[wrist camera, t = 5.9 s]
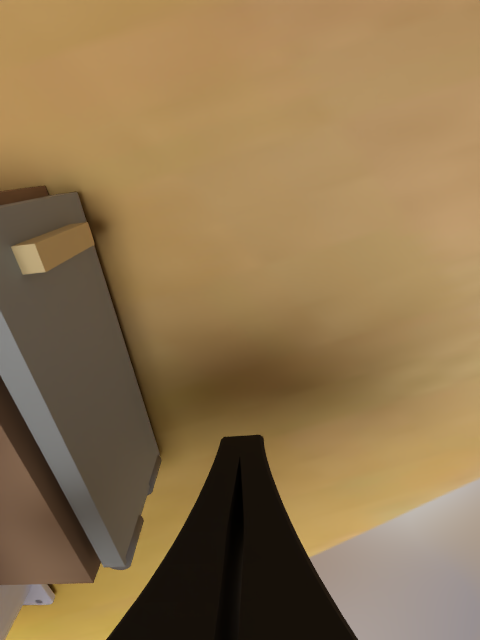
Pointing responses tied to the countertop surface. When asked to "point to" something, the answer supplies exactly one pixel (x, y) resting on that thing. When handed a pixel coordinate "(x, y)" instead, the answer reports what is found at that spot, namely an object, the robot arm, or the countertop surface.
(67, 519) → the walnut cabinet
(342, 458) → the countertop surface
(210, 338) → the countertop surface
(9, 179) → the countertop surface
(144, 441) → the cabinet door
